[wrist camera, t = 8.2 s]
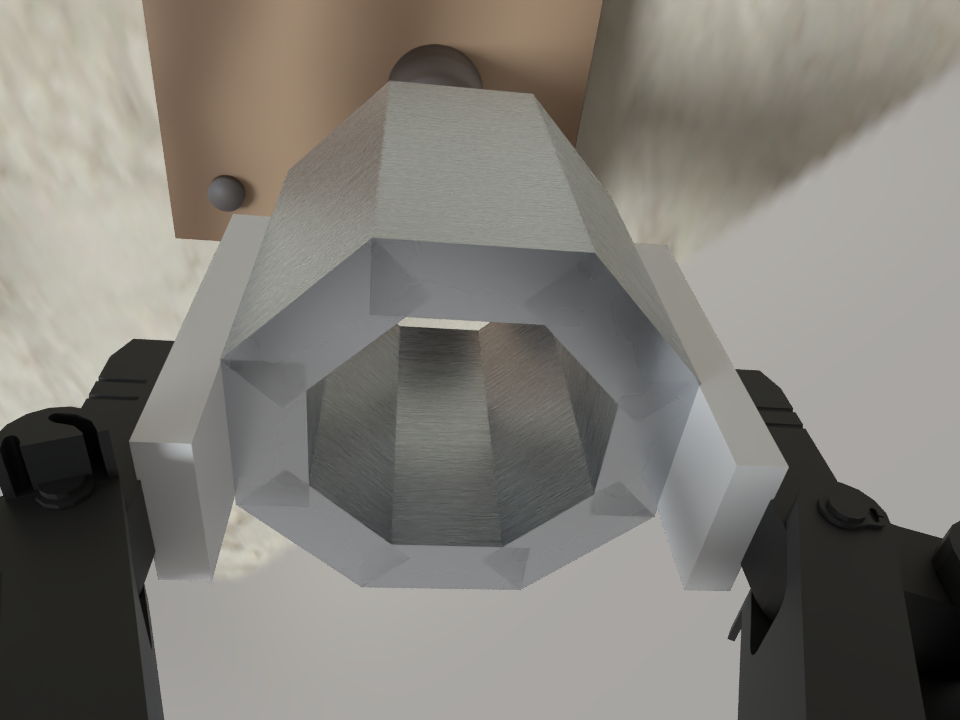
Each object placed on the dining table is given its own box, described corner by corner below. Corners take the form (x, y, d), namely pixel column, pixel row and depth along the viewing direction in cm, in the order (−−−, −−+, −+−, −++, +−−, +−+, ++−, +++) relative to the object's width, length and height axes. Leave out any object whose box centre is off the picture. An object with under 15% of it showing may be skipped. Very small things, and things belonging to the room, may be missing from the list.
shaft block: (188, 213, 29) (114, 351, 22) (141, -163, 22) (9, -139, 15) (546, 238, 31) (584, 374, 24) (607, -104, 24) (688, -58, 17)
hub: (295, 359, 20) (244, 585, 14) (283, 70, 15) (204, 225, 10) (570, 373, 20) (628, 592, 15) (630, 102, 16) (744, 263, 11)
